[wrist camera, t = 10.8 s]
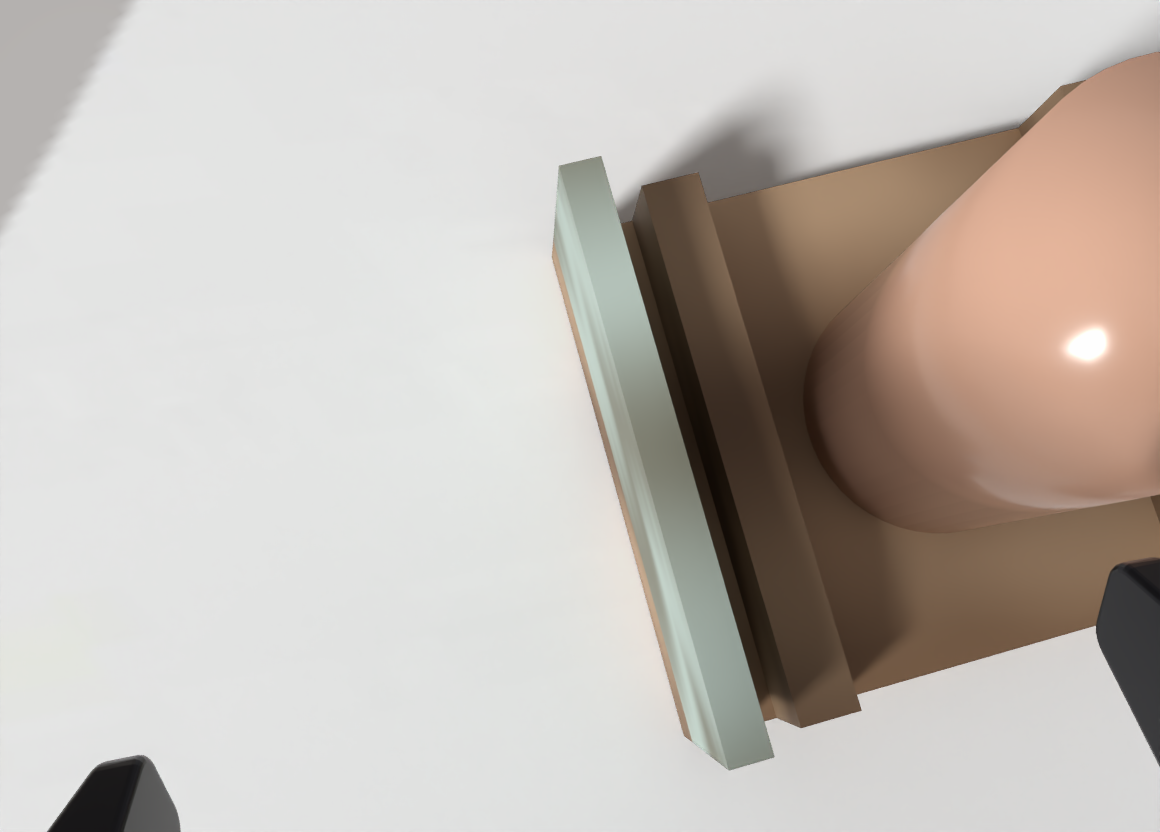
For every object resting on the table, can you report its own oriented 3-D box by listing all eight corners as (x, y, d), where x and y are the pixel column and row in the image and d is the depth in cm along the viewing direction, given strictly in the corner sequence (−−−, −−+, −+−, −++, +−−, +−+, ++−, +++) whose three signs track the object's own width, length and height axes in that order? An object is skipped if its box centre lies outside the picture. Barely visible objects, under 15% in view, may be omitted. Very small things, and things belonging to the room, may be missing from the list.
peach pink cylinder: (1077, 521, 23) (1483, 454, 13) (821, 544, 23) (1044, 492, 13) (1034, 271, 24) (1384, 37, 14) (788, 288, 24) (973, 61, 14)
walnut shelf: (1276, 564, 24) (1474, 552, 19) (683, 735, 23) (728, 770, 18) (1111, 122, 26) (1252, 2, 21) (552, 257, 25) (558, 165, 20)
